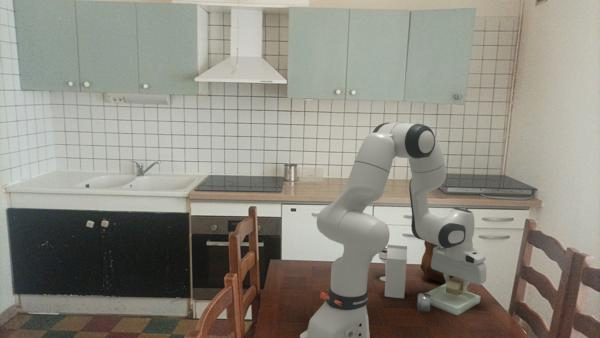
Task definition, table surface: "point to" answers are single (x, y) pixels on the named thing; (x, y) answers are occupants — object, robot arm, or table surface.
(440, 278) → the butternut squash
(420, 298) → the grey rounded cylinder
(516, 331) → the table surface
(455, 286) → the beech block
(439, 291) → the tray
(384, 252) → the wineglass
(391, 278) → the milk carton
